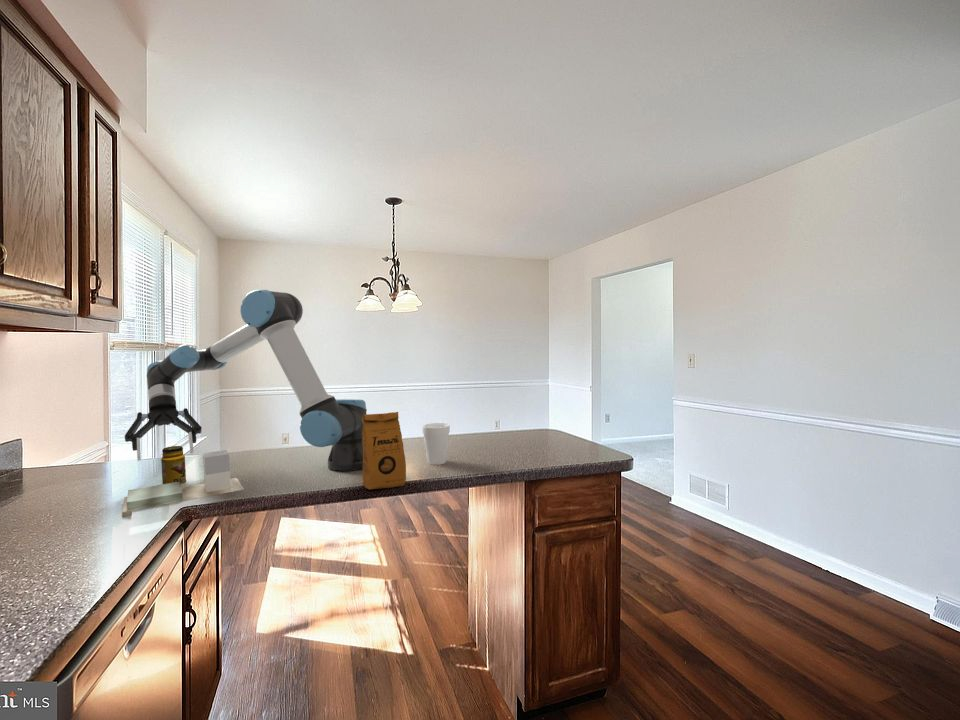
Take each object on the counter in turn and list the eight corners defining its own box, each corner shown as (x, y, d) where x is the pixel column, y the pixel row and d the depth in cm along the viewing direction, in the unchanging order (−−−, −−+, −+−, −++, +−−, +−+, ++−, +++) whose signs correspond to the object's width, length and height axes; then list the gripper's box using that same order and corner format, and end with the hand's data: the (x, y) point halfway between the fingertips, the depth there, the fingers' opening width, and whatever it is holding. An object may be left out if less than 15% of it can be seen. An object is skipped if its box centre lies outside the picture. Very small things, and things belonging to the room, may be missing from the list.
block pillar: (227, 482, 141) (226, 450, 141) (230, 487, 136) (228, 454, 136) (204, 486, 138) (202, 453, 137) (206, 492, 133) (205, 457, 132)
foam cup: (419, 465, 161) (418, 427, 161) (428, 457, 170) (427, 422, 170) (445, 466, 159) (444, 428, 158) (453, 459, 168) (452, 423, 167)
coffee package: (408, 488, 137) (406, 413, 136) (364, 493, 133) (362, 417, 132) (402, 478, 146) (400, 408, 145) (361, 483, 142) (359, 411, 141)
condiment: (188, 487, 142) (186, 448, 141) (153, 492, 137) (151, 452, 136) (187, 481, 148) (185, 443, 147) (154, 486, 143) (152, 447, 142)
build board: (236, 481, 146) (236, 471, 146) (244, 493, 135) (244, 482, 135) (124, 501, 130) (123, 490, 130) (122, 516, 119) (121, 504, 119)
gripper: (205, 404, 166) (211, 454, 155) (115, 411, 152) (116, 468, 140) (205, 390, 161) (212, 441, 150) (114, 397, 147) (114, 454, 136)
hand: (166, 454), depth 145 cm, fingers open, 13 cm apart
